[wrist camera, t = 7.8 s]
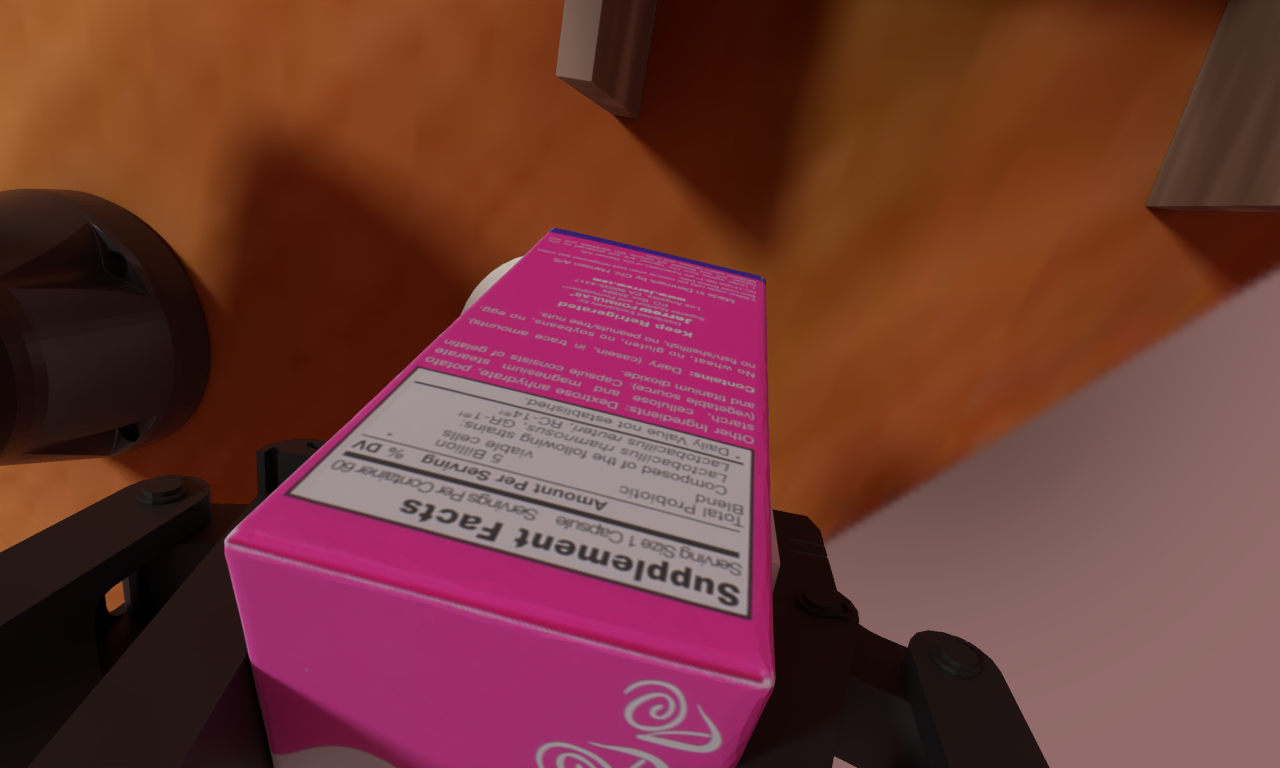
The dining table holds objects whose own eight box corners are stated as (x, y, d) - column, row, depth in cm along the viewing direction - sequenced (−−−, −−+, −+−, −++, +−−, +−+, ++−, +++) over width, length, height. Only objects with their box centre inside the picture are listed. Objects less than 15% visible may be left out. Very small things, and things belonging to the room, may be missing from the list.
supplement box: (722, 456, 18) (659, 951, 8) (529, 406, 19) (257, 822, 9) (779, 273, 15) (785, 711, 5) (549, 218, 16) (169, 532, 6)
